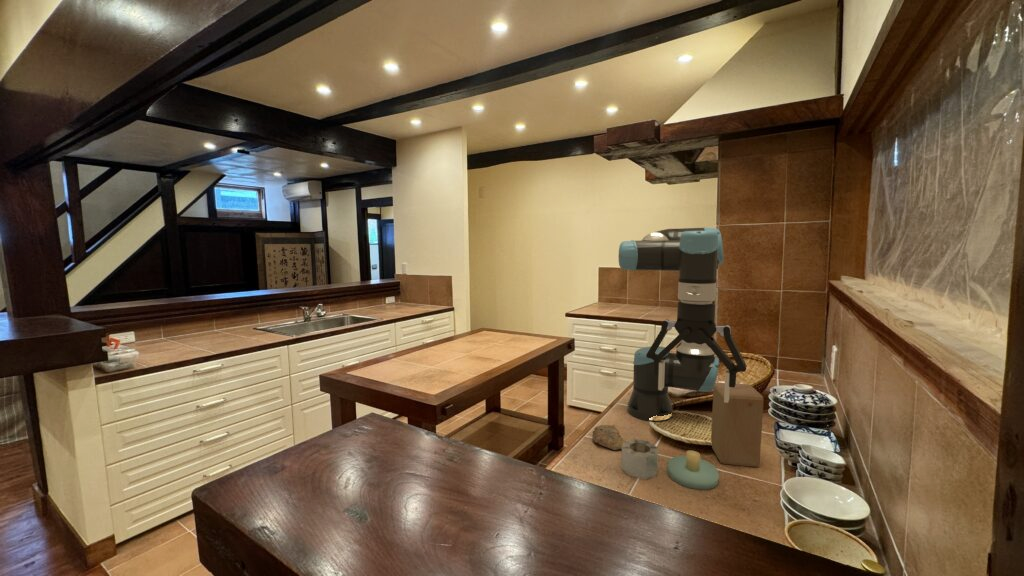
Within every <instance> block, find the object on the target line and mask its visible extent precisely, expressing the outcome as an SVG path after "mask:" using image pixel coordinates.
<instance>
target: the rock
mask: <svg viewBox="0 0 1024 576" xmlns="http://www.w3.org/2000/svg"><path fill="white" fill-rule="evenodd" d="M591 434H592V441H593V442H594V443H596V444H598V445H600V446H602V447H605V448H607V449H611V450H614V451H617V450H622V446H623V442H624V441H625V440H624V439H623V438H622V435H621V434H620V431H619V429H618V428H617V427H616V426H615V425H609V424H602V425H599V426H595V427H594V430H593V431H592V433H591Z"/></svg>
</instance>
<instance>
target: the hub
mask: <svg viewBox="0 0 1024 576" xmlns="http://www.w3.org/2000/svg"><path fill="white" fill-rule="evenodd" d="M719 474H720V473H719V471H718V469H717V467H715V466H714V465H713V464H712V463H711V462H709V461H706V460H704V459H702V458H701V454H700V453H699V452H698V451H695V450H686V455H677V456H673V457H671V458H669V460H668V461H667V475H668V476H669V477H670V478H671V480H673V481H674V482H676V483H677V484H679V485H681V486H683V487H686V488H689V489H693V490H699V491H701V490H703V491H704V490H705V491H706V490H712V489H713V488H716V486H718V484H719Z"/></svg>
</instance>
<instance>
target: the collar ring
mask: <svg viewBox="0 0 1024 576" xmlns="http://www.w3.org/2000/svg"><path fill="white" fill-rule="evenodd" d="M623 441H624V442H623V446H622V449H621V466H620V467H621V470H622V471H624V473H626V474H627V475H628V476H629V477H632V478H637V479H640V480H641V479H642V480H648V479H651V478H652V479H653V478H655V477H657V474H658V473H657V472H658V456H659V455H658V453H659V452H658V451H659V447H658V446H656V445H655V444H653V443H652V442H650V441H649V440H644V439H636V438H633V439H629V440H628V439H627V440H623ZM639 452H642V453H639Z"/></svg>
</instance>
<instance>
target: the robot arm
mask: <svg viewBox="0 0 1024 576" xmlns="http://www.w3.org/2000/svg"><path fill="white" fill-rule="evenodd" d="M722 238H723V237H722V233H721V230H719V228H717V227H716V228H715V227H705V226H704V227H690V228H687V227H684V228H683V227H682V228H665V229H660V230H657V231H654V232H651V233H647V234H646V235H645V236H644V237H643V238H642V239H641V240H633V239H631V240H624V241H621V242H620V244H619V248H618V265H619V268H620V269H621V270H622V271H623V270H625V271H626V270H627V271H662V272H664V271H666V272H668V271H669V272H671V271H673V272H674V271H675V272H678V273H679V274H678V275H679V276H678V286H677V299H678V300H679V301H678V302H677V309H676V310H677V313H676V315H677V316H676V321H672V320H669V319H668V318H667V319H664V320H663V321H662V322H661V327H660V331H659V333H658V334H657V336H656V338H655V339H654V341H653V343H652V345H651V346H646V347H640V348H638V349H636V351H634V355H633V357H634V358H633V362H632V364H633V383H632V387H633V388H632V392H631V394H630V396H629V399H628V403H627V412H628V414H630V415H631V416H632V417H635V418H637V419H640V420H643V421H649V418H651V417H653V416H656V415H657V416H664V415H668V414H671V413H672V412H673V411H674V410H673V409H674V408H673V405H672V402H671V399H670V396H669V388H674V389H682V390H688V391H696V392H705V393H706V392H707V393H709V392H712V391H713V389H714V384H715V383H717V378H718V374H719V366H720V362H721V363H722V364H723V366H725V369H726V370H725V373H724V376H725V377H724V383H725V392H724V402H725V403H728V401H729V391H730V387H733V388H734V387H735V385H736V384H737V374H738V373H745V372H746V371H747V364H746V362H745V359H744V357H743V356H742V354H741V352H740V350H739V347H738V346H737V344H736V342H735V339H734V337H733V336H732V328H731V325H730V324H726V325H718V326H717V324H716V322H715V321H716V320H715V316H716V304H715V303H714V301H716V298H717V297H716V295H717V272H718V271H719V265H722V264H724V246H723V245H724V244H723V239H722ZM673 328H674V329H675V331H676V332H677V333H678V335H677V336H676V337H675V338H674V339H673V340H671V342H669V343H668V345H666V346H665V347H664V346H661V344H662V342H663V340H664V338H665V337H666V335H667V333H668V332H669V331H671V330H672V329H673ZM716 332H717V333H719V335H720V336H721V337H723V339H724V341H725V344H726V345H727V347H728V349H729V351H730V353H731V355H732V358H733V359H734V362H735V363H736V364H735V363H734V362H733V361H732V359H731V358H730V357H729V356H728V354H727V353H726V352H725V351H724V349H722V348H721V346H720V345H719V344H718V343H717V340H716V339H715V338H714V337H713V336H714V335H715V334H716ZM679 343H680V345H679V346H678V347H676V346H677V345H678V344H679ZM675 347H676V350H675V353H673V352H671V351H672V350H673V349H674V348H675ZM673 413H674V412H673ZM649 422H650V421H649Z"/></svg>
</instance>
